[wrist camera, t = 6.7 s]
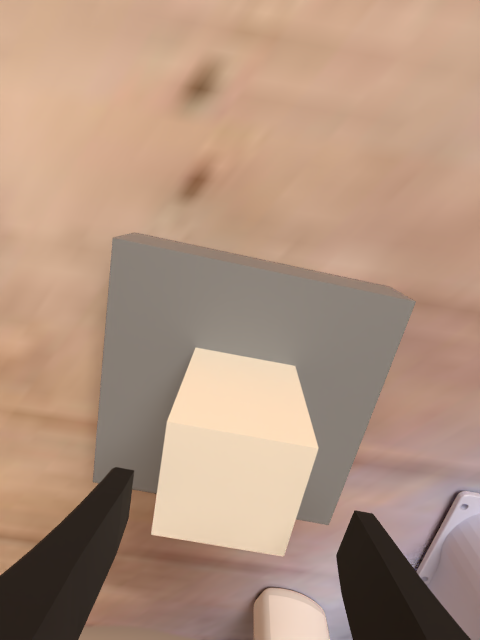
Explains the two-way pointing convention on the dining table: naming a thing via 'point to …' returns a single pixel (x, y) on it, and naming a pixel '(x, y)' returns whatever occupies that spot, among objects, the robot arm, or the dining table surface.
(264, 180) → the dining table surface
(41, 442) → the dining table surface
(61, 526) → the robot arm
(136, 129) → the dining table surface
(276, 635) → the eye dropper bottle
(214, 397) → the cream block
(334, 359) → the base plinth
